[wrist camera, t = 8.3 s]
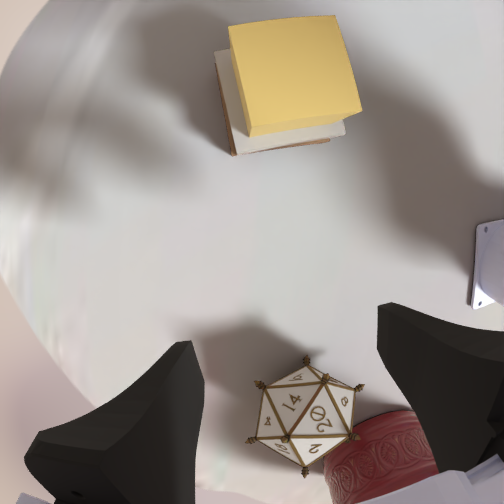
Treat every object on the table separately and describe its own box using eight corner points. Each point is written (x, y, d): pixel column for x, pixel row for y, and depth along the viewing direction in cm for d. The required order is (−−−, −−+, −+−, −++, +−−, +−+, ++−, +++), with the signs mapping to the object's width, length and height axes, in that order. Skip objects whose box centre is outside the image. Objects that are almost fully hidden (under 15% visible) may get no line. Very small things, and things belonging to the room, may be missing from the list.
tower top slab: (312, 49, 16) (320, 36, 14) (334, 137, 17) (346, 134, 15) (216, 64, 16) (213, 51, 14) (237, 155, 18) (237, 153, 16)
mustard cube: (312, 48, 14) (334, 15, 10) (331, 123, 15) (362, 111, 11) (231, 60, 14) (227, 26, 10) (249, 137, 15) (252, 127, 11)
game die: (271, 355, 28) (210, 377, 19) (363, 341, 24) (343, 365, 15) (285, 442, 25) (233, 492, 17) (374, 435, 22) (357, 497, 13)
